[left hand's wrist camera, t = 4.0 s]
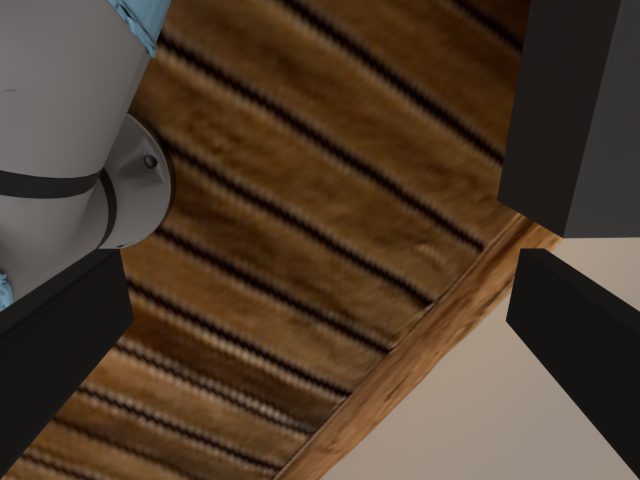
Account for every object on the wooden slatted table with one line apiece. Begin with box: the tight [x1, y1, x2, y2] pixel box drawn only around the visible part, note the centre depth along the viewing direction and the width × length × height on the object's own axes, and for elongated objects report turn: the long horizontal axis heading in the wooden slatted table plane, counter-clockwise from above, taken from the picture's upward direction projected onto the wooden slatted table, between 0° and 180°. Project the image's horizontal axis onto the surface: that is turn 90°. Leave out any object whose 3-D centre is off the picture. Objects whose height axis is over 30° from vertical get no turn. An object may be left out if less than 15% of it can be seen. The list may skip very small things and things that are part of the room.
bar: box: [497, 0, 640, 238], centre depth 22 cm, size 27×6×9 cm, turn 1°
